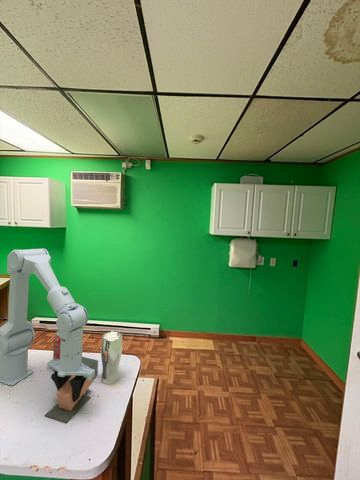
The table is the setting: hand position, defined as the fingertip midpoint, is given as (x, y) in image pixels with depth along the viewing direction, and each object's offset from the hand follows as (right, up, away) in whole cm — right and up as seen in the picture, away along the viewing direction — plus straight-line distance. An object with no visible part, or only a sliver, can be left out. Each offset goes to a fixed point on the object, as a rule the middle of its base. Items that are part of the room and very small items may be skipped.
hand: (69, 397), depth 67 cm
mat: (0, -3, 0) cm, 3 cm away
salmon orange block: (+1, -1, +3) cm, 3 cm away
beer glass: (+8, -3, +14) cm, 16 cm away
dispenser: (-3, -2, +13) cm, 13 cm away
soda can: (-11, -2, +19) cm, 21 cm away
